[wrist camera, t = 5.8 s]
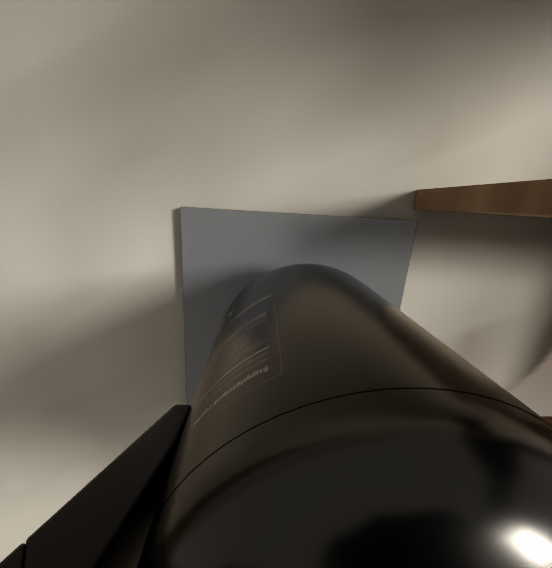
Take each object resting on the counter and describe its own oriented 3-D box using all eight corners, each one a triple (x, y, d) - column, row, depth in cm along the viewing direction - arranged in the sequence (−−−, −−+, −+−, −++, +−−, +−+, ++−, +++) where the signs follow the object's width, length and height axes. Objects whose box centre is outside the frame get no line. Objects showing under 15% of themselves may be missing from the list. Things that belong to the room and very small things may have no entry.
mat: (412, 220, 12) (417, 221, 12) (376, 408, 15) (379, 413, 15) (182, 206, 12) (180, 206, 11) (189, 406, 14) (187, 412, 14)
